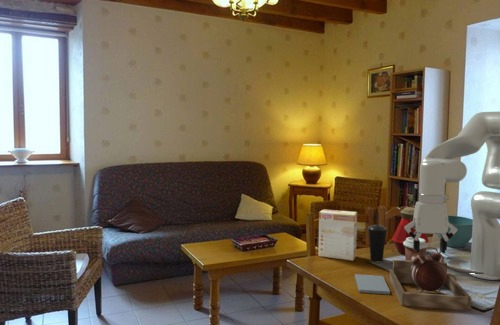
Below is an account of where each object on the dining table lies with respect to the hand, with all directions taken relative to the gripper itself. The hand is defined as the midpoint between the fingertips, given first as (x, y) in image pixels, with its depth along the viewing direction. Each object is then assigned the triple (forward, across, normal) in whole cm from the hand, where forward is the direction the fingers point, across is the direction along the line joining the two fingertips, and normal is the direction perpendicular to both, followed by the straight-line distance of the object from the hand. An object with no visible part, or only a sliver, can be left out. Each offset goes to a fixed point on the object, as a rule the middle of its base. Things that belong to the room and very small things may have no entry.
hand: (429, 251), depth 131 cm
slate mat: (+14, +18, -4) cm, 23 cm away
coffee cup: (+15, -1, -23) cm, 28 cm away
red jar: (+16, -4, -44) cm, 47 cm away
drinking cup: (+15, +12, -32) cm, 38 cm away
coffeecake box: (+15, +28, -34) cm, 47 cm away
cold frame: (+15, +1, +1) cm, 15 cm away
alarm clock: (+14, 0, 0) cm, 14 cm away
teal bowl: (+16, -28, -60) cm, 68 cm away
